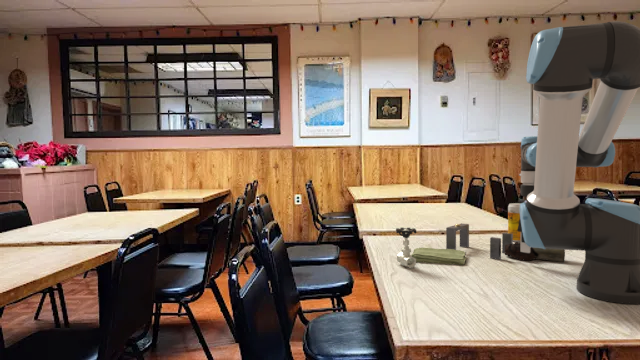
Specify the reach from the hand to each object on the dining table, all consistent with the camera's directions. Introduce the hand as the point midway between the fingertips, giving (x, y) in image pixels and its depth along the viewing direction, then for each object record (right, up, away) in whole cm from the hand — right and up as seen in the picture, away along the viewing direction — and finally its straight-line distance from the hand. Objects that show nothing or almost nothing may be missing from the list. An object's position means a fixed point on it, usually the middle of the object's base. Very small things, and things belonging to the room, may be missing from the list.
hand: (532, 248), depth 133 cm
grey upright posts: (-13, -3, +13) cm, 18 cm away
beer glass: (+9, -2, +30) cm, 31 cm away
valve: (-42, -5, -4) cm, 43 cm away
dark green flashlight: (+1, -4, +1) cm, 5 cm away
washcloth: (-30, -5, +4) cm, 31 cm away
